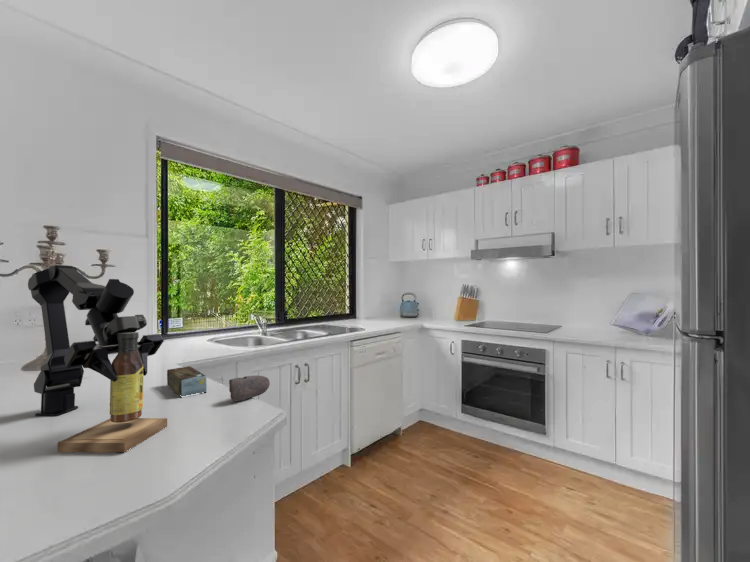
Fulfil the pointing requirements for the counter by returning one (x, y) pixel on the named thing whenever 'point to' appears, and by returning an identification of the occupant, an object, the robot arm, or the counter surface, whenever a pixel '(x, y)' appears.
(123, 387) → the sauce bottle
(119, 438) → the podium
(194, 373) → the beverage carton
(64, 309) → the robot arm
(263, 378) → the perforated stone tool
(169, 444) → the counter surface
